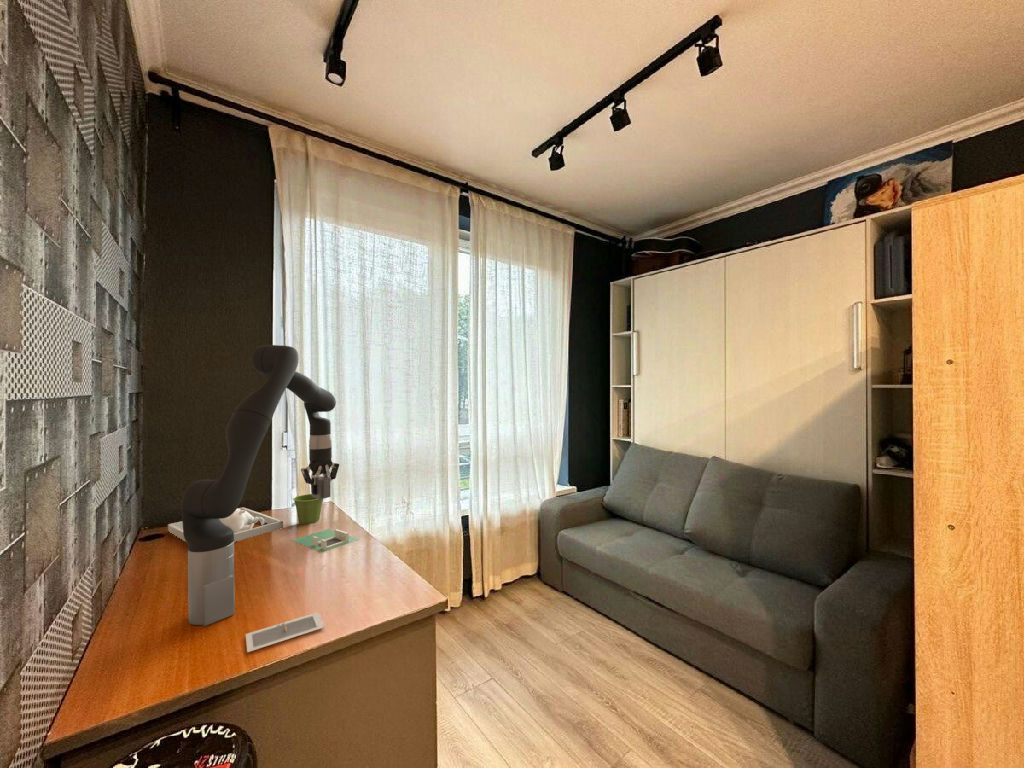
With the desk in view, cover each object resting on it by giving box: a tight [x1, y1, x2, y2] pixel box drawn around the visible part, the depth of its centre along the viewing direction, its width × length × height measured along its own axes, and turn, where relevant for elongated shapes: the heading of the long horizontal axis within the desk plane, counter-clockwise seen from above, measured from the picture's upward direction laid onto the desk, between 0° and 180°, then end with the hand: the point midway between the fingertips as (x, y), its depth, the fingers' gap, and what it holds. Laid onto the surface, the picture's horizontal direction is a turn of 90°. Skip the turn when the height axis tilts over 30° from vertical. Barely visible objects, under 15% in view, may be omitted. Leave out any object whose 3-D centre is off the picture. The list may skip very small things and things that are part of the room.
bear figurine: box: [220, 508, 265, 533], centre depth 160 cm, size 17×14×20 cm
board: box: [291, 528, 360, 554], centre depth 147 cm, size 20×14×4 cm
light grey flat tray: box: [167, 506, 284, 543], centre depth 163 cm, size 36×27×3 cm
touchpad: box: [245, 611, 326, 653], centre depth 93 cm, size 8×15×2 cm, turn 125°
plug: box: [310, 475, 331, 500], centre depth 151 cm, size 4×7×7 cm, turn 53°
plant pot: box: [292, 493, 324, 525], centre depth 168 cm, size 12×12×11 cm
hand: (321, 493), depth 151 cm, fingers closed on plug, 4 cm apart
